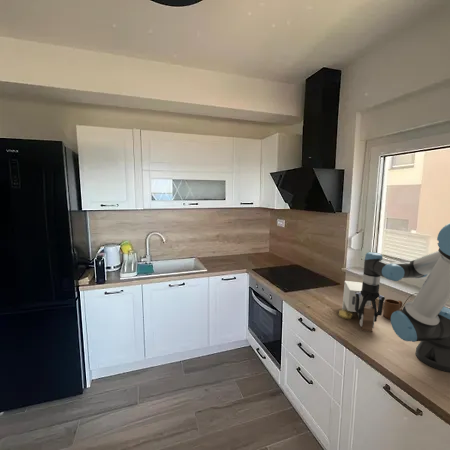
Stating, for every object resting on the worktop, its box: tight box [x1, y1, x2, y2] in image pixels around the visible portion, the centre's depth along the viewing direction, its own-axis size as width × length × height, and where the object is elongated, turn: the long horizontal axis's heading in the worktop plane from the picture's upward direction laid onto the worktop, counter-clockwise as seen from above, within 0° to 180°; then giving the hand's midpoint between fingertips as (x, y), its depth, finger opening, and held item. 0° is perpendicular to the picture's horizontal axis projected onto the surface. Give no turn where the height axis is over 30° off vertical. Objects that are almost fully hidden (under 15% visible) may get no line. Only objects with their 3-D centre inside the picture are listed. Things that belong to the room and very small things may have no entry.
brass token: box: [338, 308, 354, 320], centre depth 147 cm, size 7×7×2 cm
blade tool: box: [356, 305, 374, 333], centre depth 140 cm, size 20×4×12 cm, turn 164°
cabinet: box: [341, 280, 372, 313], centre depth 147 cm, size 17×11×18 cm, turn 164°
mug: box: [382, 298, 403, 320], centre depth 148 cm, size 12×8×9 cm, turn 111°
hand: (366, 325), depth 133 cm, fingers closed on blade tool, 4 cm apart
